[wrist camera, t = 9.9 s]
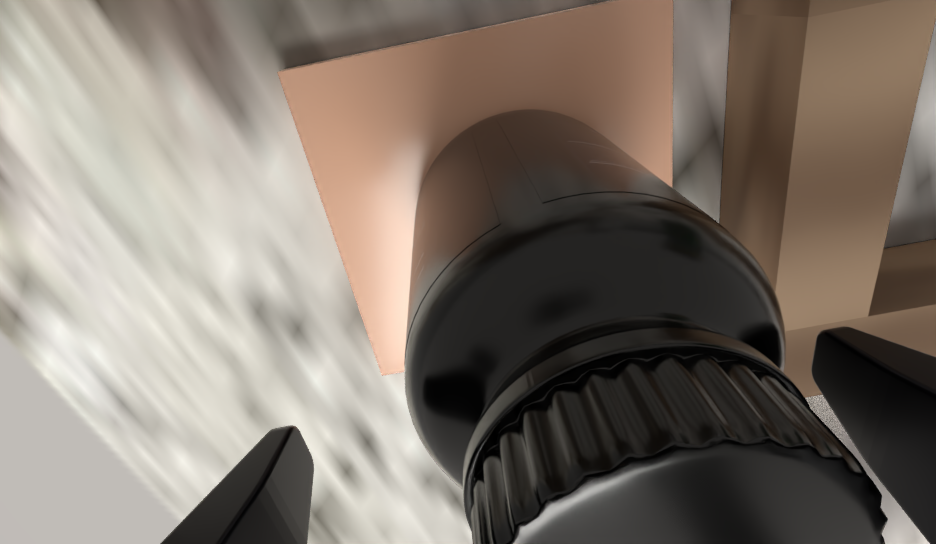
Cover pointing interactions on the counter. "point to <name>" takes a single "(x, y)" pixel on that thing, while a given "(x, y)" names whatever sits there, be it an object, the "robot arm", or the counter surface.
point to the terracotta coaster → (467, 124)
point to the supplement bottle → (607, 357)
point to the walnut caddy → (828, 165)
